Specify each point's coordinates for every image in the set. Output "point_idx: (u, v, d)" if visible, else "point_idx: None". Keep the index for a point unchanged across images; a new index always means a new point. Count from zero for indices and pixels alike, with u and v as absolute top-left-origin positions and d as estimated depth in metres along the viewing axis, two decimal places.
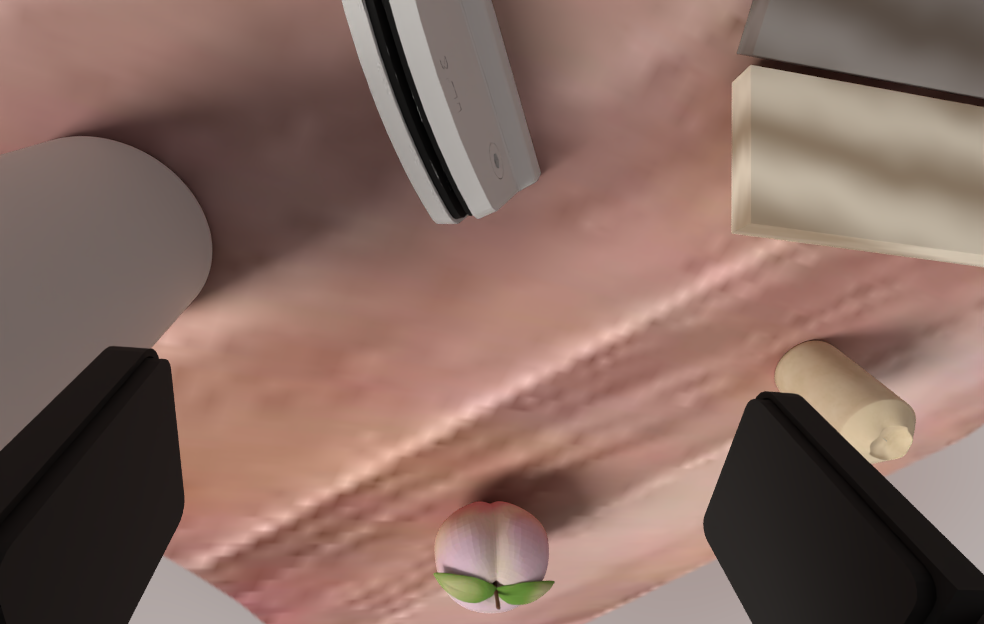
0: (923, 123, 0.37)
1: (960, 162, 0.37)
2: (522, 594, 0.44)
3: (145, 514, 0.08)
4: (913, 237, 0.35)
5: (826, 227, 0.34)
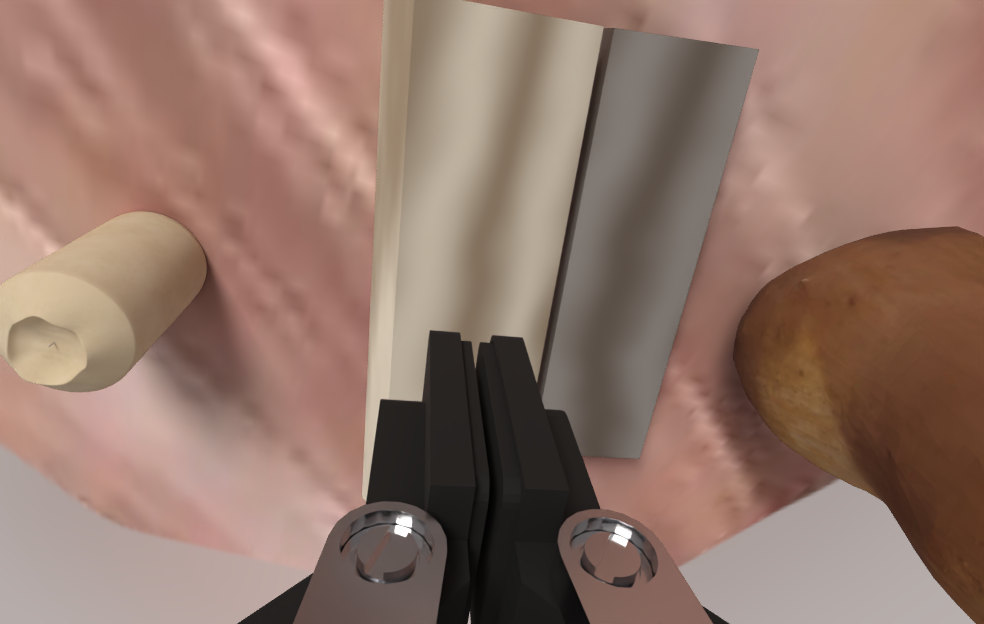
0: (531, 277, 0.30)
1: (492, 329, 0.30)
2: None
3: None
4: (406, 278, 0.25)
5: (413, 136, 0.22)
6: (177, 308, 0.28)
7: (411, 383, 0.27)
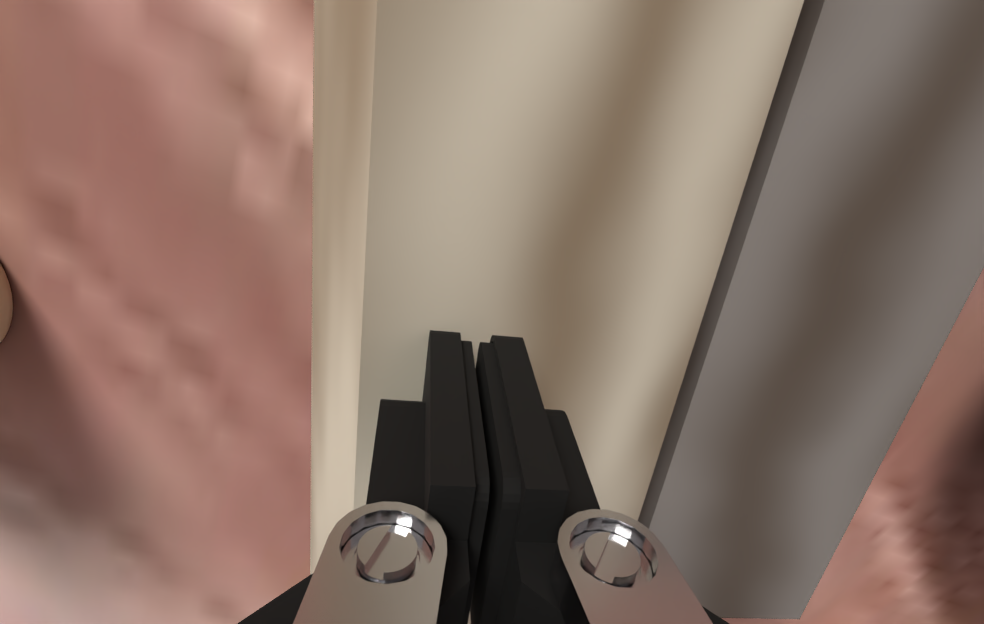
0: (660, 322, 0.15)
1: (577, 430, 0.14)
2: None
3: None
4: (389, 338, 0.10)
5: None
6: None
7: None
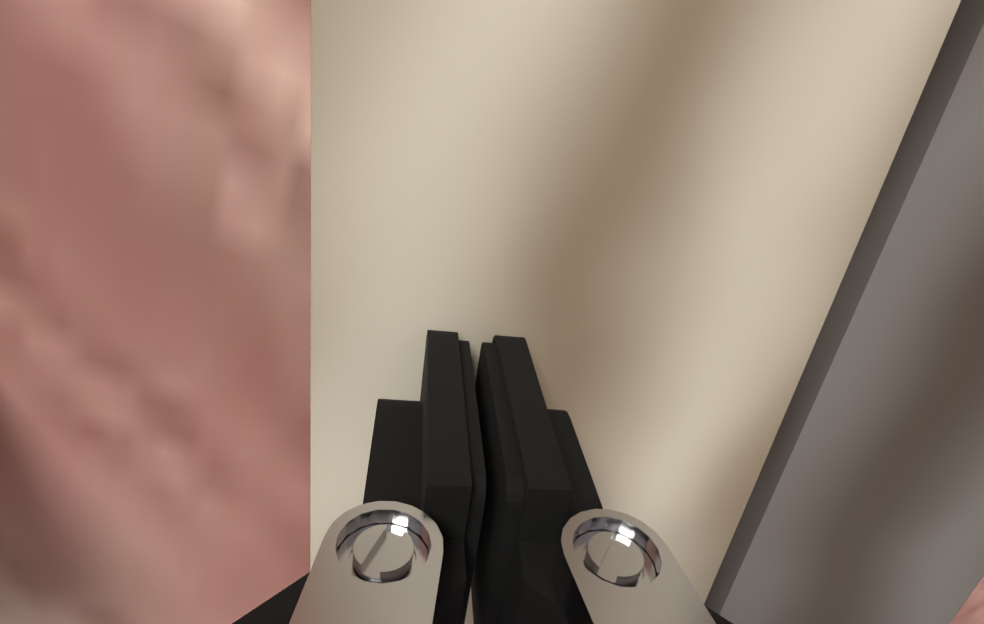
0: (725, 371, 0.12)
1: (599, 471, 0.12)
2: None
3: None
4: (343, 312, 0.10)
5: None
6: None
7: None
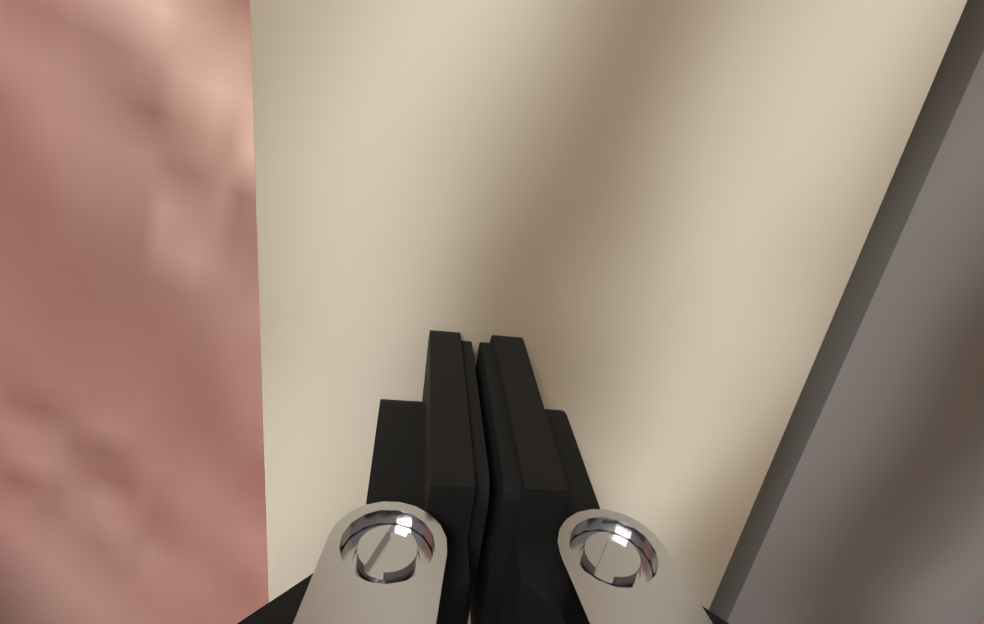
0: (702, 403, 0.11)
1: None
2: None
3: None
4: (291, 316, 0.10)
5: None
6: None
7: None
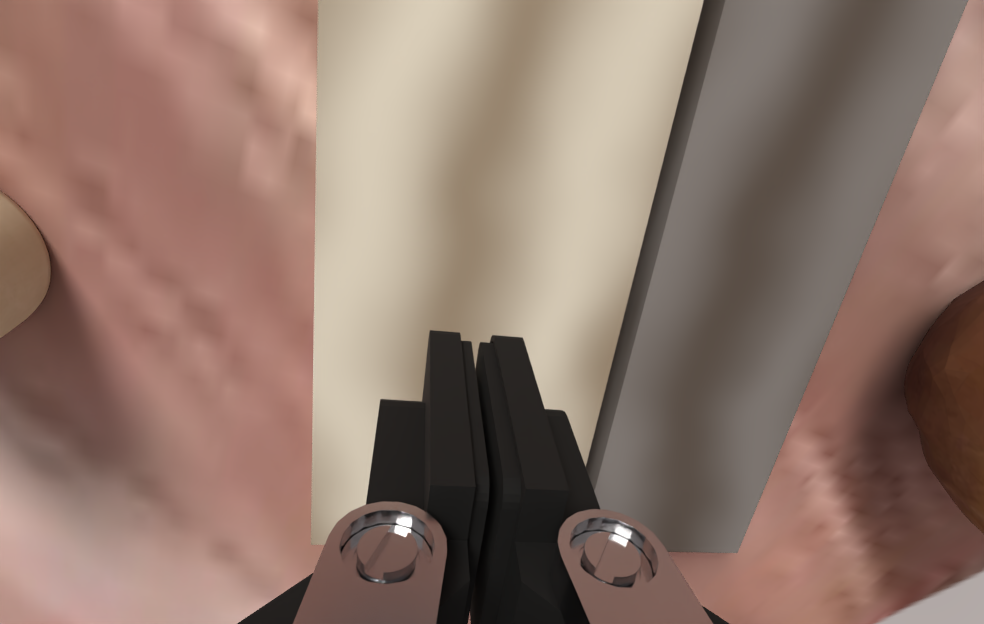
0: (578, 265, 0.19)
1: (498, 330, 0.19)
2: None
3: None
4: (333, 203, 0.17)
5: None
6: None
7: (349, 366, 0.19)
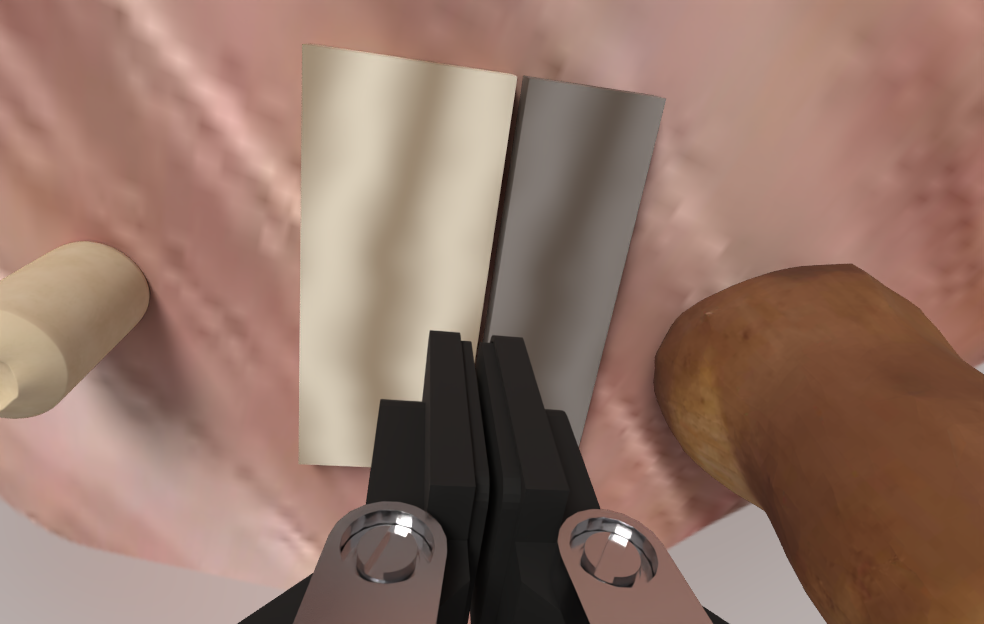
0: (450, 297, 0.33)
1: (406, 333, 0.33)
2: None
3: None
4: (310, 264, 0.31)
5: (309, 152, 0.29)
6: (115, 336, 0.30)
7: (320, 354, 0.33)
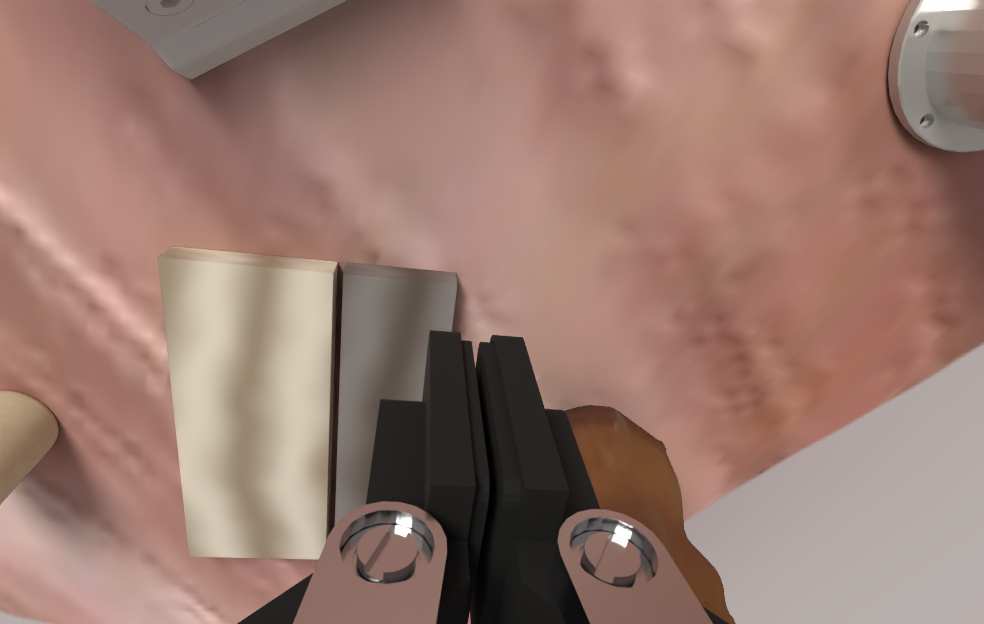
0: (300, 430, 0.40)
1: (267, 457, 0.41)
2: None
3: None
4: (181, 409, 0.39)
5: (171, 331, 0.36)
6: (22, 473, 0.37)
7: (198, 474, 0.41)
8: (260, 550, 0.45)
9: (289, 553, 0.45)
